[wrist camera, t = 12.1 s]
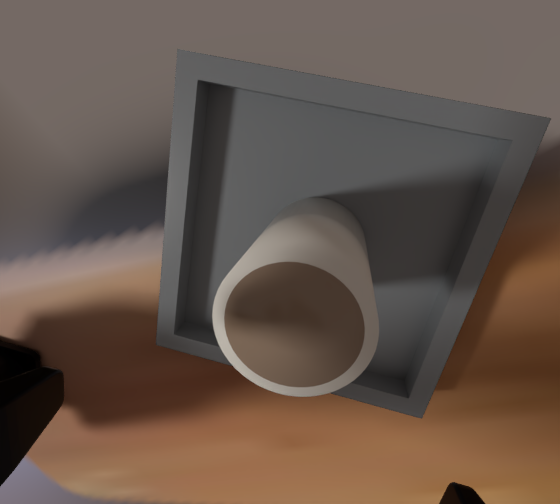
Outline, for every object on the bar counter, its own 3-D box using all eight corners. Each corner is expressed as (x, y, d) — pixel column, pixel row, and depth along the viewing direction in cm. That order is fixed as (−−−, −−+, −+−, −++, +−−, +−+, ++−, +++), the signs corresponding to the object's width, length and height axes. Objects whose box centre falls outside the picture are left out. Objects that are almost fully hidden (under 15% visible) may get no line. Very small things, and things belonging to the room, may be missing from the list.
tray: (172, 326, 22) (155, 344, 20) (196, 58, 17) (177, 49, 15) (414, 392, 20) (421, 418, 18) (525, 120, 15) (551, 118, 13)
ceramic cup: (260, 278, 19) (203, 373, 12) (276, 187, 17) (222, 230, 10) (351, 300, 19) (353, 416, 11) (377, 209, 17) (402, 273, 9)
